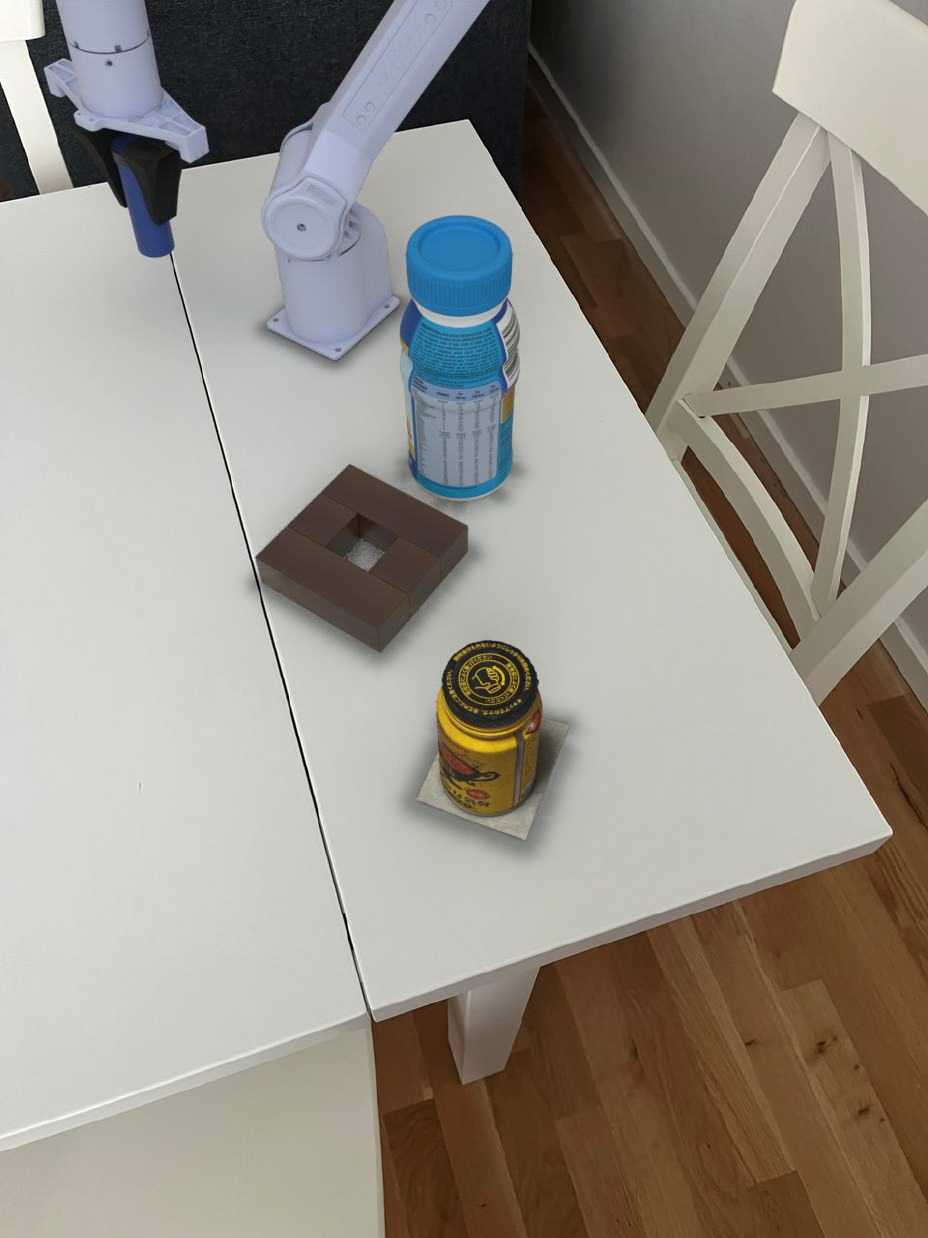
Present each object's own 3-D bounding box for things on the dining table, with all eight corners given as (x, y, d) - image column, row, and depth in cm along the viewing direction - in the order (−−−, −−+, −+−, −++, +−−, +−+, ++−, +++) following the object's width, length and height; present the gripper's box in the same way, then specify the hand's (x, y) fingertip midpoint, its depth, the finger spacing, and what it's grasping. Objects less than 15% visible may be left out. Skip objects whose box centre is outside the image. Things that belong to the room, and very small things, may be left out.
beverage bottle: (443, 523, 75) (436, 304, 58) (387, 454, 79) (366, 231, 62) (534, 478, 77) (553, 256, 61) (476, 414, 81) (479, 189, 65)
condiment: (415, 801, 62) (406, 707, 52) (465, 692, 66) (465, 586, 56) (525, 842, 60) (537, 753, 50) (568, 727, 65) (587, 625, 55)
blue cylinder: (156, 229, 84) (133, 126, 76) (185, 245, 83) (165, 142, 75) (126, 248, 82) (100, 145, 75) (156, 264, 81) (132, 161, 74)
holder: (353, 489, 77) (349, 463, 74) (468, 551, 73) (468, 525, 71) (261, 582, 72) (254, 556, 69) (380, 653, 68) (377, 629, 66)
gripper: (-10, 19, 69) (47, 197, 80) (141, 92, 65) (178, 269, 76) (68, -16, 72) (112, 160, 83) (216, 52, 68) (241, 227, 79)
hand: (148, 209), depth 80 cm, fingers closed on blue cylinder, 3 cm apart
